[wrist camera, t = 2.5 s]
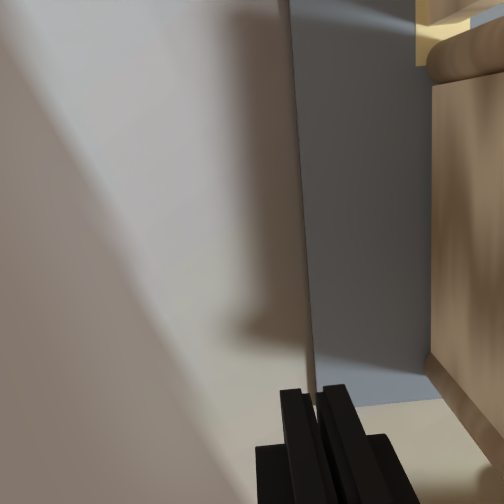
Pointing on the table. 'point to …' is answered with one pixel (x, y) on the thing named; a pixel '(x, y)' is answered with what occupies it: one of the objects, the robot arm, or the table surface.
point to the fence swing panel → (469, 232)
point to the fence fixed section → (456, 10)
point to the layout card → (368, 189)
